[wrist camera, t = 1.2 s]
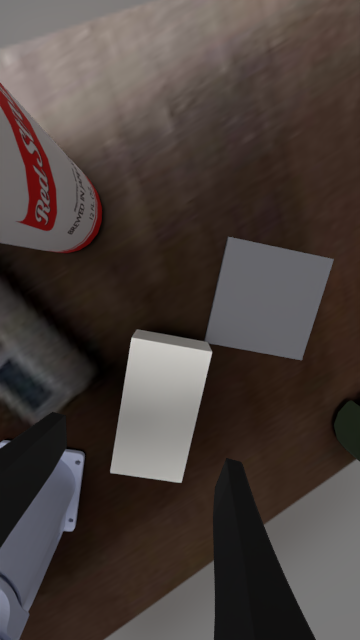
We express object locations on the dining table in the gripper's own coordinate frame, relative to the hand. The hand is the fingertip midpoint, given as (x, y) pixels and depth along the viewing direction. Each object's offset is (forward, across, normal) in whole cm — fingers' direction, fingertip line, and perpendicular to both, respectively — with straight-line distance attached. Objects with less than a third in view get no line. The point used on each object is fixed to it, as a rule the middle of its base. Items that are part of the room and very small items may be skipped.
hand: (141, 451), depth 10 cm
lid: (+6, 0, +4) cm, 7 cm away
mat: (+13, -6, -4) cm, 15 cm away
